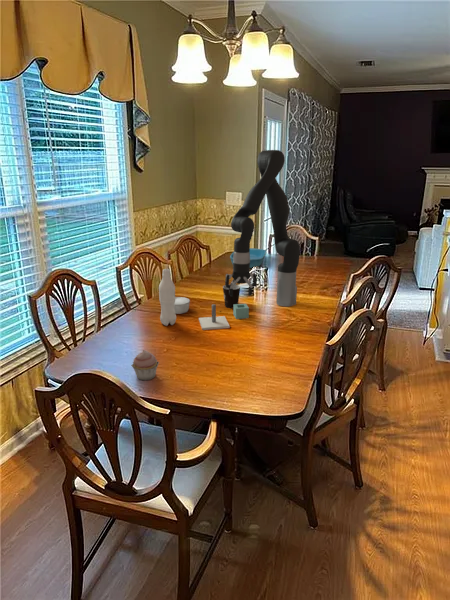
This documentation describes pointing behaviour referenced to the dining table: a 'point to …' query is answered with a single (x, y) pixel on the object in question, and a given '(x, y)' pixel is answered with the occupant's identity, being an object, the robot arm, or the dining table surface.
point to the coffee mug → (231, 299)
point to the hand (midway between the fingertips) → (240, 295)
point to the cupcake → (145, 365)
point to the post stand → (213, 321)
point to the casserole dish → (254, 257)
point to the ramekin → (181, 305)
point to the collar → (240, 311)
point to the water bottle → (167, 299)
